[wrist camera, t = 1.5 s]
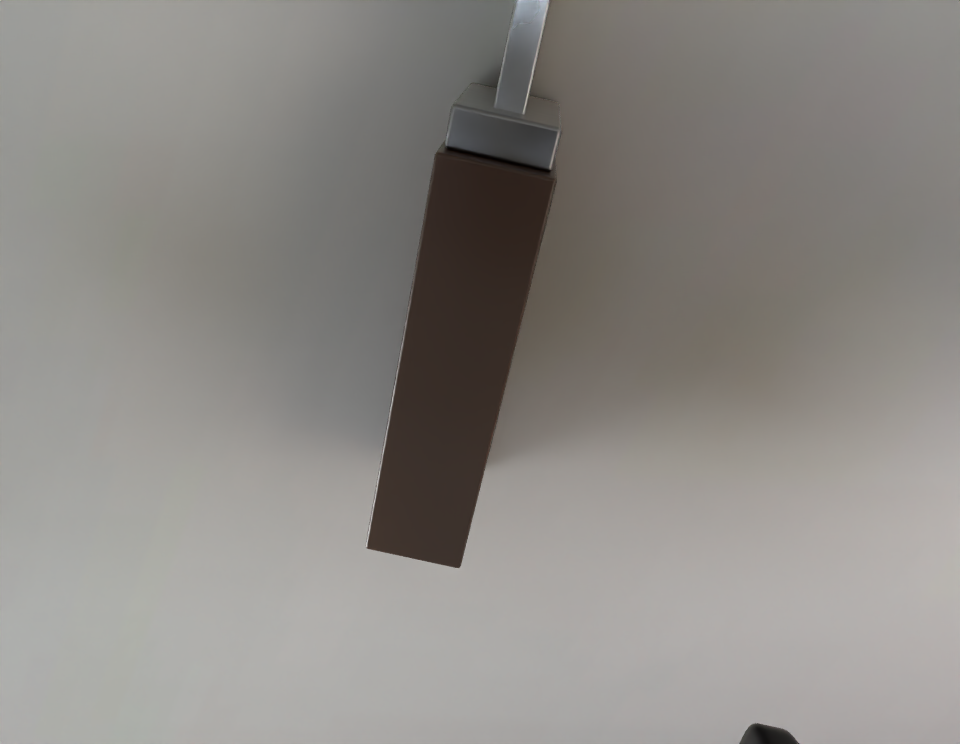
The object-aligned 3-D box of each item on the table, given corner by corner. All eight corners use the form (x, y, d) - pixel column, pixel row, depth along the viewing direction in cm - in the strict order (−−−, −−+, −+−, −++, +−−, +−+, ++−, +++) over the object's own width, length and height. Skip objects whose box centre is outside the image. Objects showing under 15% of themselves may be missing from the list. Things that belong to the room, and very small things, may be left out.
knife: (395, 455, 21) (364, 549, 18) (615, -725, 12) (644, -1033, 8) (474, 472, 21) (460, 569, 18) (757, -690, 12) (847, -982, 8)
